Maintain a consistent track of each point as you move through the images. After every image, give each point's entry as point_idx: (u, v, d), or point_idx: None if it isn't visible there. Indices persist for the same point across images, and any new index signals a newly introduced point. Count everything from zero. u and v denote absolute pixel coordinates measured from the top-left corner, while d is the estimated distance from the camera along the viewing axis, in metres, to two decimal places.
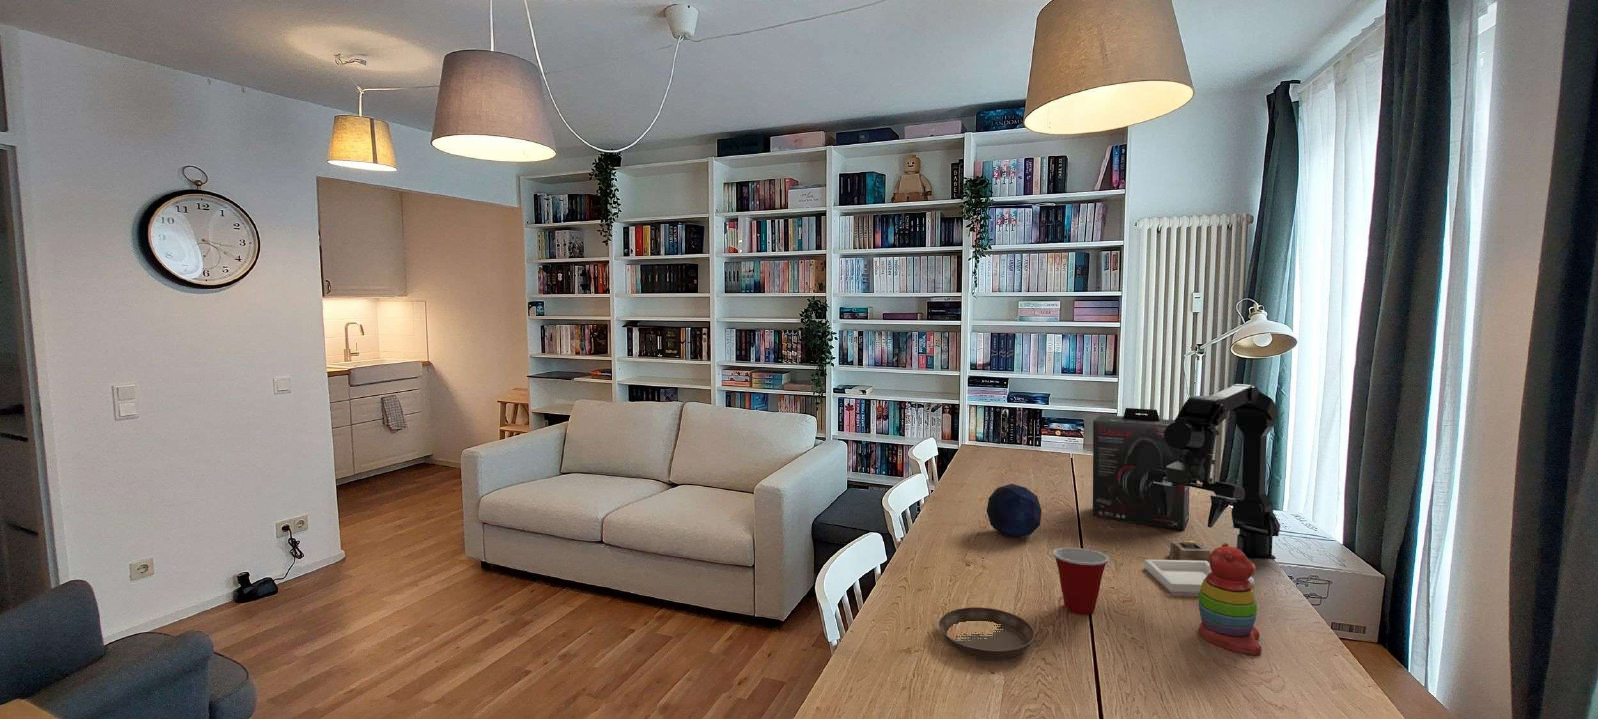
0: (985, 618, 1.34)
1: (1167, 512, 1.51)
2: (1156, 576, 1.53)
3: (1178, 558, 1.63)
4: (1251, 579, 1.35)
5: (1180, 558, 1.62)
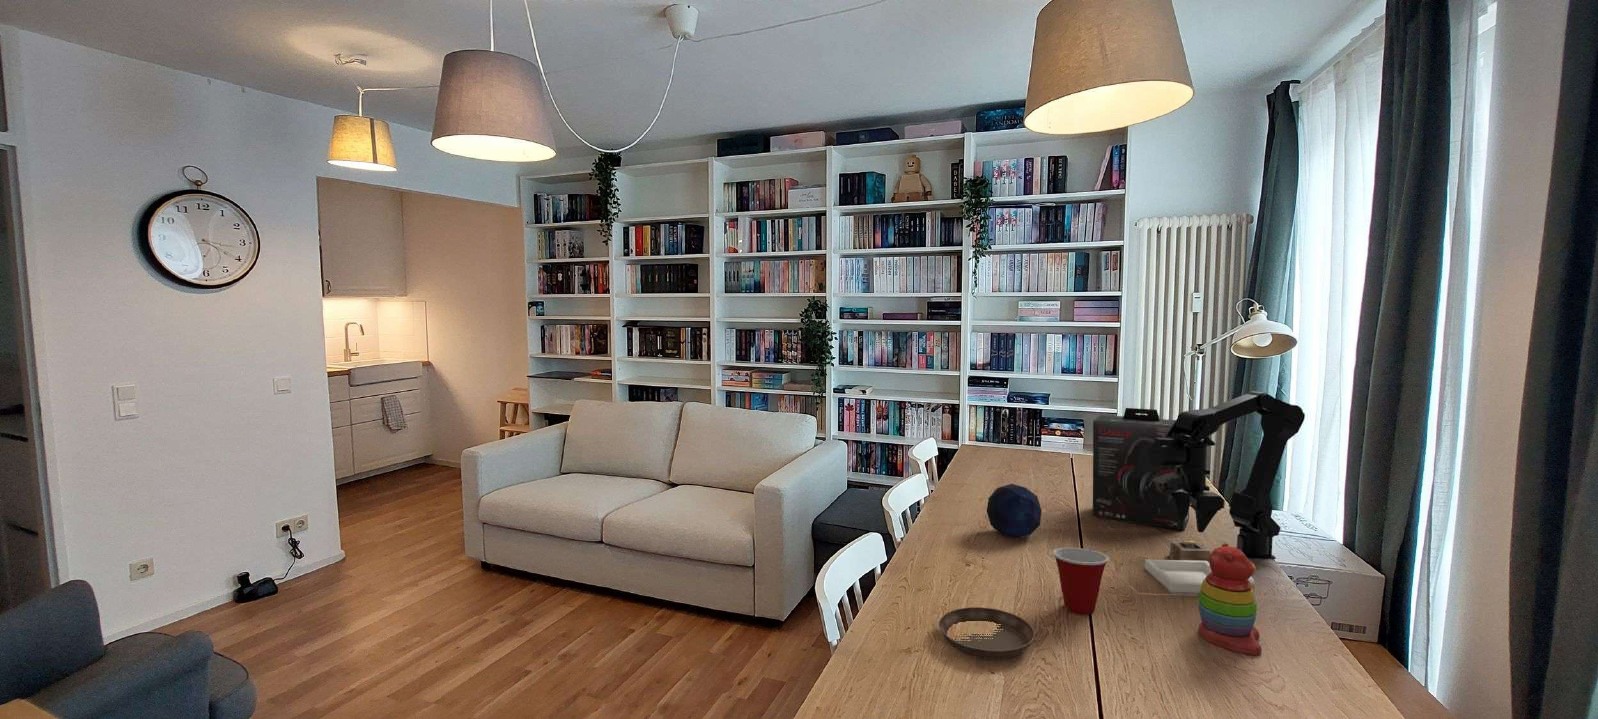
0: (985, 618, 1.34)
1: (1180, 516, 1.67)
2: (1156, 576, 1.53)
3: (1178, 558, 1.63)
4: (1251, 579, 1.35)
5: (1180, 558, 1.62)
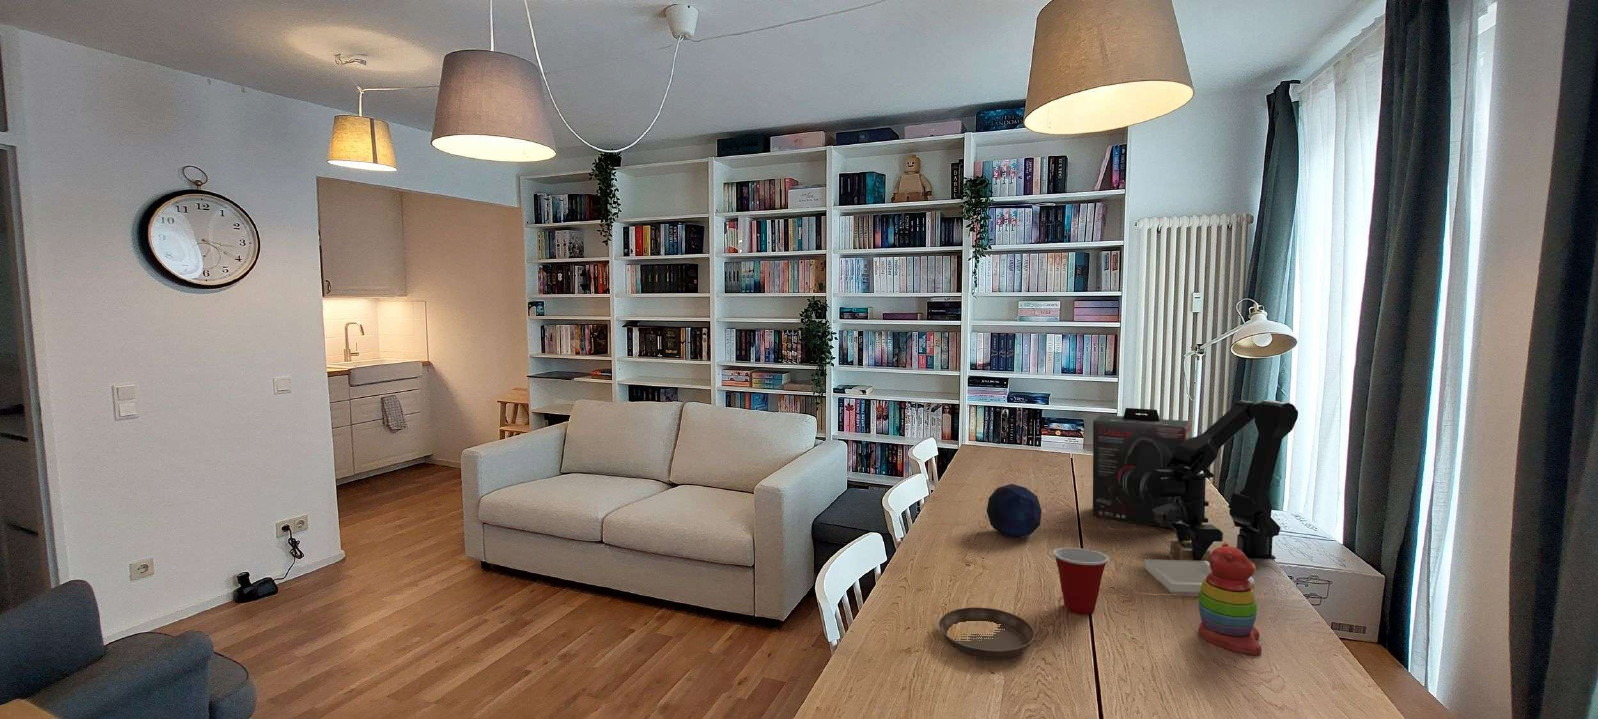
0: (985, 618, 1.34)
1: None
2: (1156, 576, 1.53)
3: (1178, 558, 1.63)
4: (1251, 579, 1.35)
5: (1180, 558, 1.62)
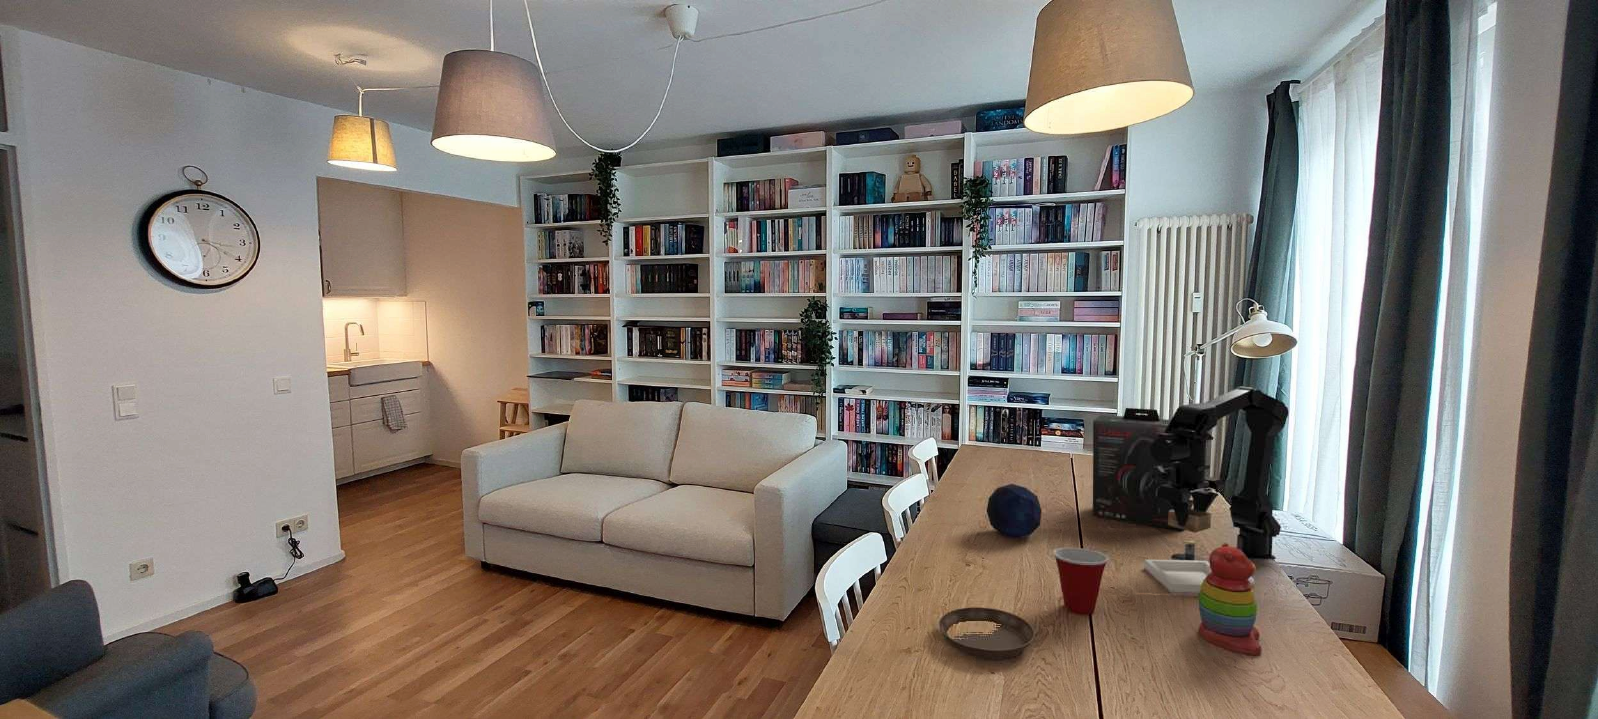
0: (985, 618, 1.34)
1: None
2: (1156, 576, 1.53)
3: None
4: (1251, 579, 1.35)
5: None
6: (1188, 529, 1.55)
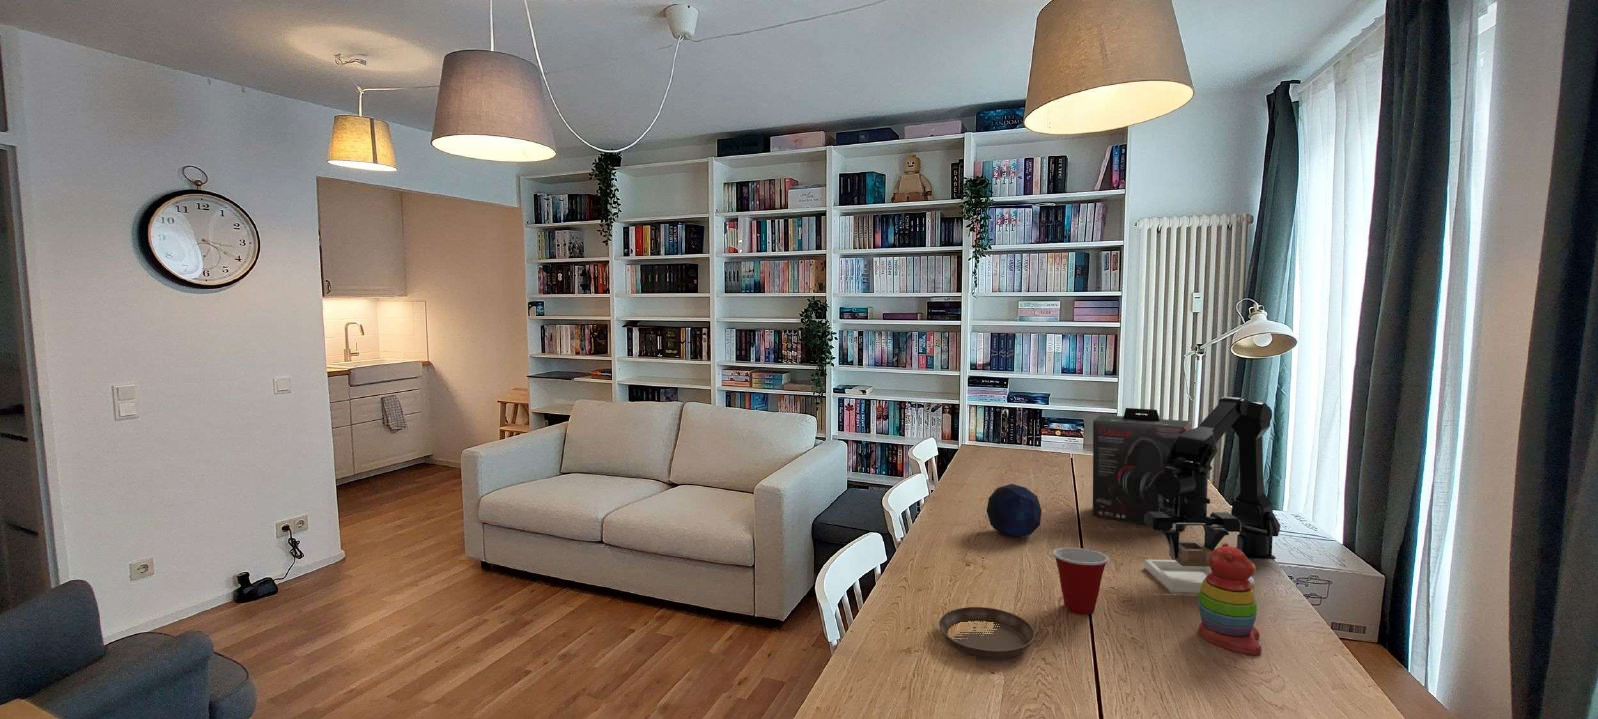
0: (985, 618, 1.34)
1: None
2: (1156, 576, 1.53)
3: None
4: (1251, 579, 1.35)
5: None
6: (1178, 561, 1.50)
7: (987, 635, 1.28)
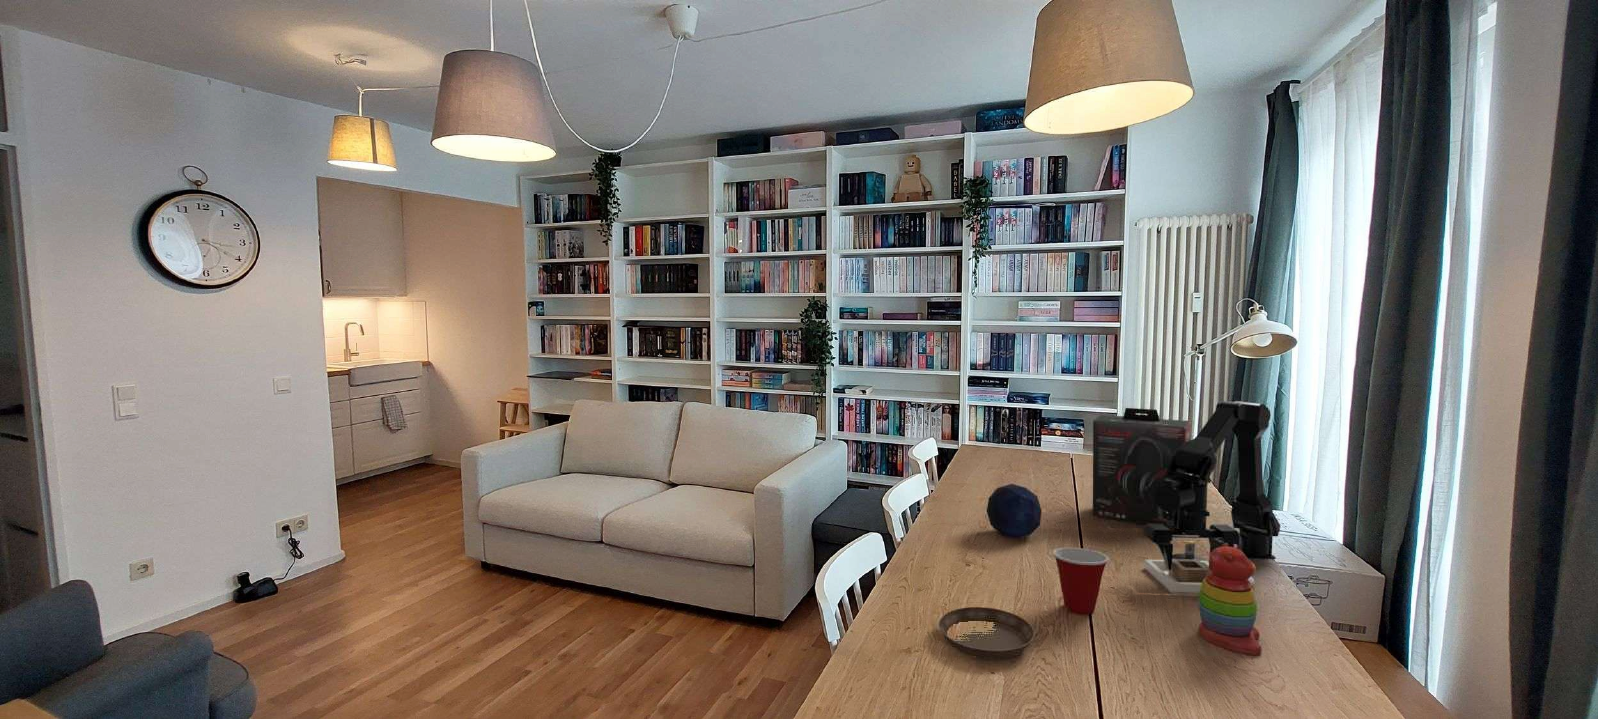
0: (984, 618, 1.34)
1: (1209, 565, 1.51)
2: (1156, 576, 1.53)
3: None
4: (1251, 579, 1.35)
5: None
6: (1178, 580, 1.50)
7: (987, 635, 1.28)
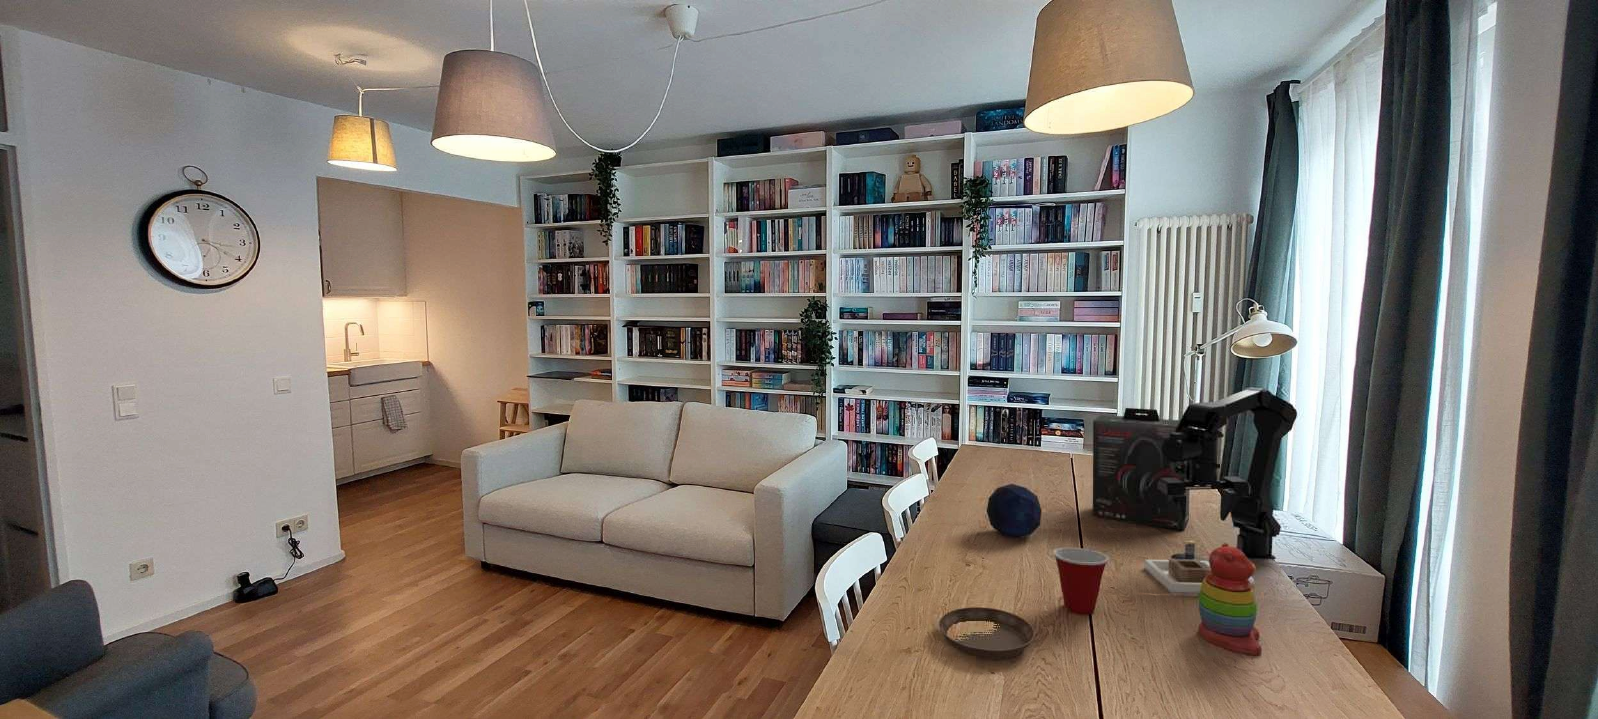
0: (984, 618, 1.34)
1: (1220, 515, 1.59)
2: (1156, 576, 1.53)
3: None
4: (1251, 579, 1.35)
5: None
6: (1178, 580, 1.50)
7: (987, 635, 1.28)
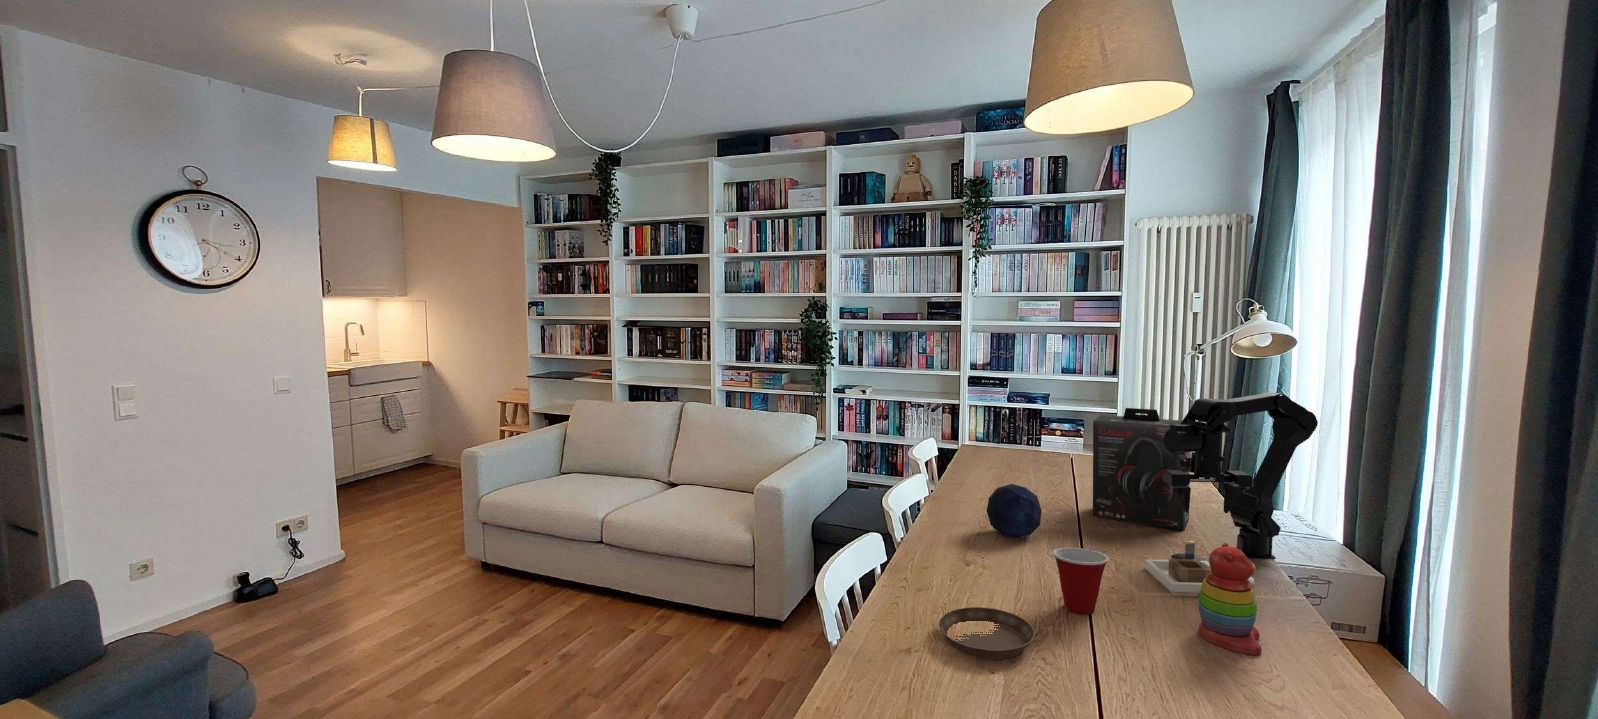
0: (984, 618, 1.34)
1: None
2: (1156, 576, 1.53)
3: None
4: (1251, 579, 1.35)
5: None
6: (1178, 580, 1.50)
7: (987, 635, 1.28)
